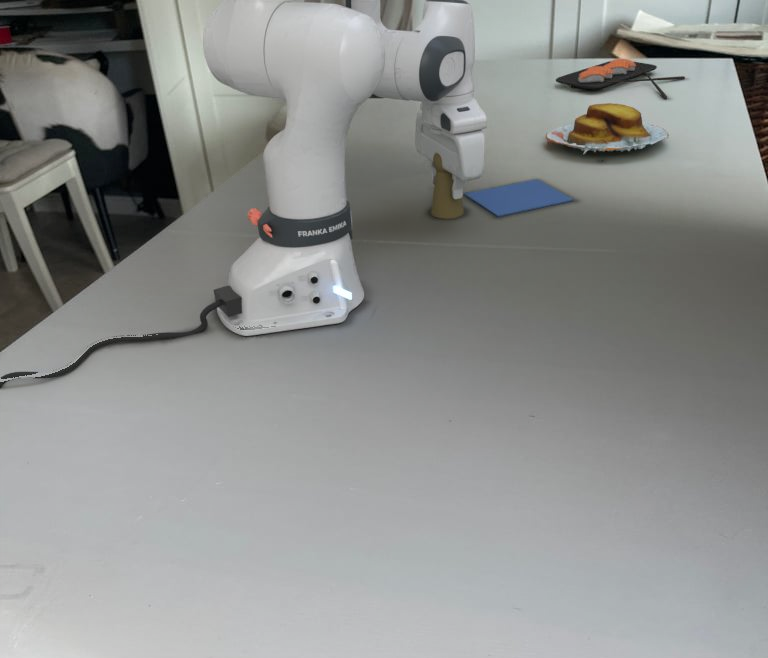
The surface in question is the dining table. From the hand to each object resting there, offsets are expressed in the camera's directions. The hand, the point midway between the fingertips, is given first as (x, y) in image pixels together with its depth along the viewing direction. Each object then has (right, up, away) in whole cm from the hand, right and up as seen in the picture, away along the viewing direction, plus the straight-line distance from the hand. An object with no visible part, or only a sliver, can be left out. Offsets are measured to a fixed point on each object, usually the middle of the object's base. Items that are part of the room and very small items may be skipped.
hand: (447, 191), depth 146 cm
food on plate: (+36, +21, +28) cm, 50 cm away
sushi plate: (+53, +54, +65) cm, 100 cm away
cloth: (+14, +1, +7) cm, 15 cm away
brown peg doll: (0, -3, +3) cm, 4 cm away
